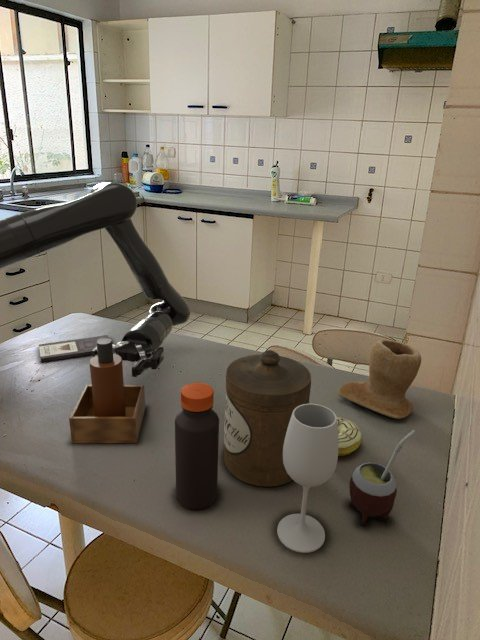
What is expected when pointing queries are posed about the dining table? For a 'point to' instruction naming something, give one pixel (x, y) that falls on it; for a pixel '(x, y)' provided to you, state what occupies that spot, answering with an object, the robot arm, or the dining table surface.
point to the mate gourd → (374, 488)
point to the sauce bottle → (107, 381)
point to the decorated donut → (347, 436)
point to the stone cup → (386, 380)
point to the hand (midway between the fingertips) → (113, 370)
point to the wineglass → (308, 470)
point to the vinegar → (196, 447)
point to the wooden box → (108, 419)
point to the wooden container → (261, 415)
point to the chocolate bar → (68, 348)
